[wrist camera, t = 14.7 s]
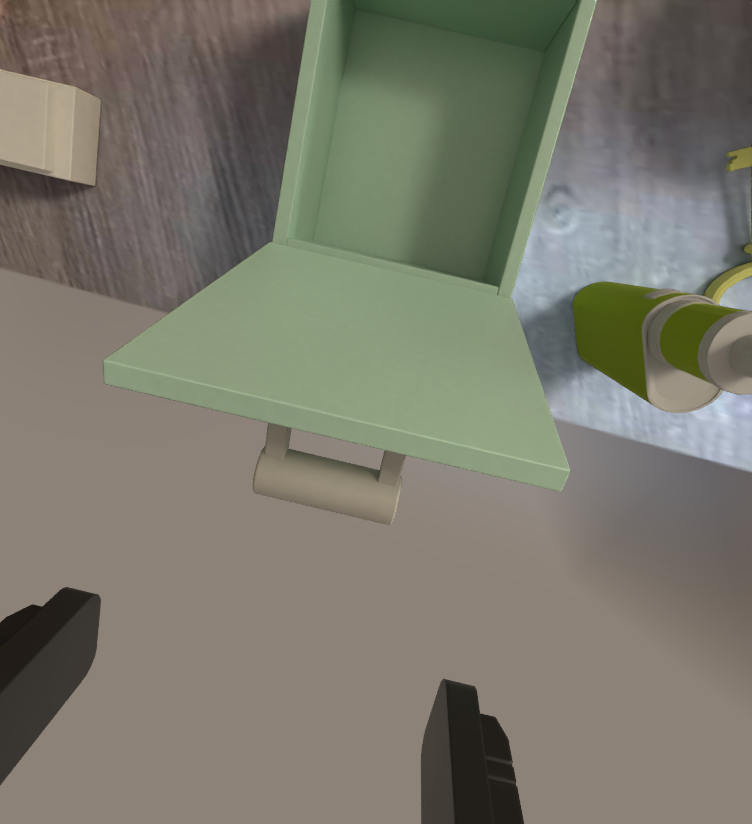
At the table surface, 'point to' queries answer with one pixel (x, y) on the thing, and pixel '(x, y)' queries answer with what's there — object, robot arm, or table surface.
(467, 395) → the lid
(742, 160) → the key
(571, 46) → the box
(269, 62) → the table surface
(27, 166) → the white power adapter
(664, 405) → the vape
